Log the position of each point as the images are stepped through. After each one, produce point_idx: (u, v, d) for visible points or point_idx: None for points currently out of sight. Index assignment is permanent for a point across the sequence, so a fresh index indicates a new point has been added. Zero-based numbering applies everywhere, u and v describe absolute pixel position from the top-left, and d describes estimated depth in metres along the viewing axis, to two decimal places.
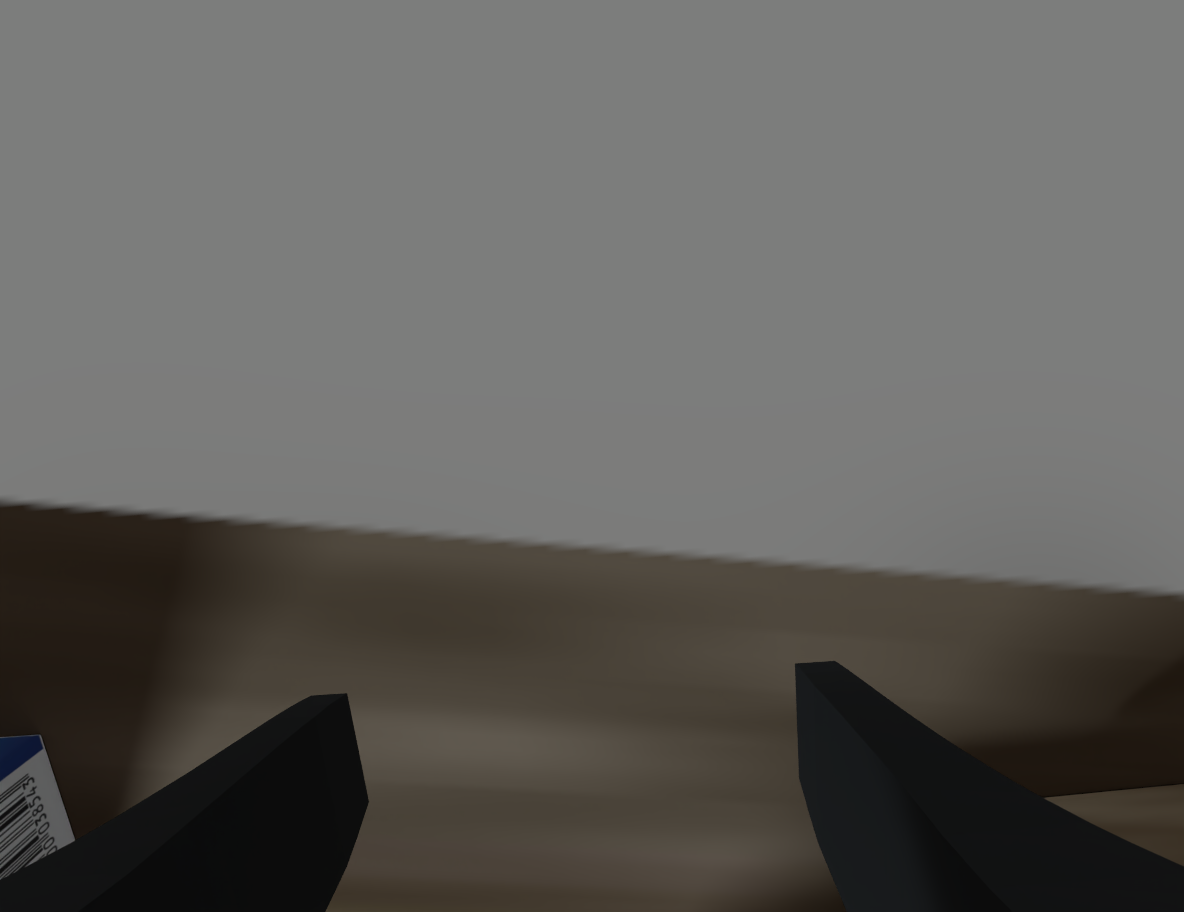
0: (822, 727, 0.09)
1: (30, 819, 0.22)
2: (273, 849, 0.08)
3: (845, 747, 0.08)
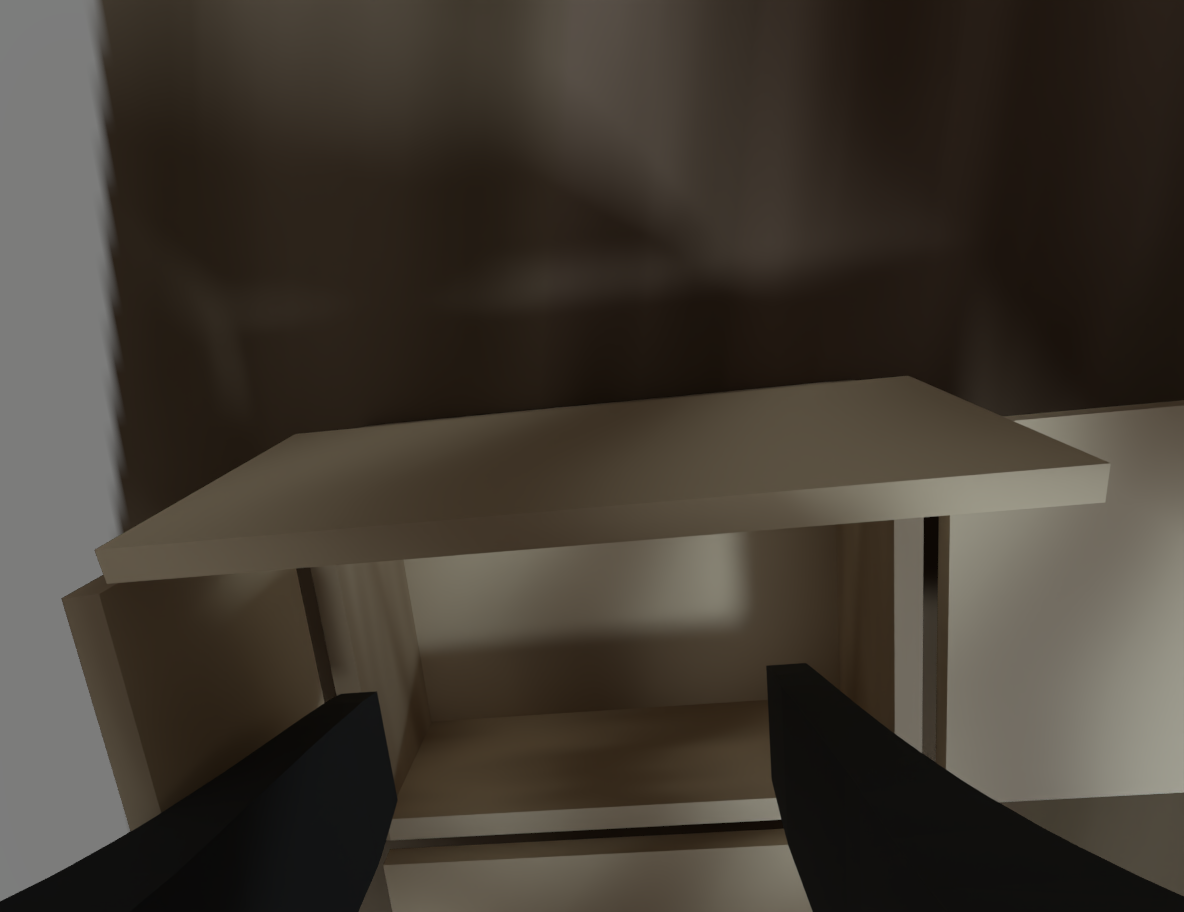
0: (789, 729, 0.09)
1: None
2: (310, 847, 0.08)
3: (809, 749, 0.08)
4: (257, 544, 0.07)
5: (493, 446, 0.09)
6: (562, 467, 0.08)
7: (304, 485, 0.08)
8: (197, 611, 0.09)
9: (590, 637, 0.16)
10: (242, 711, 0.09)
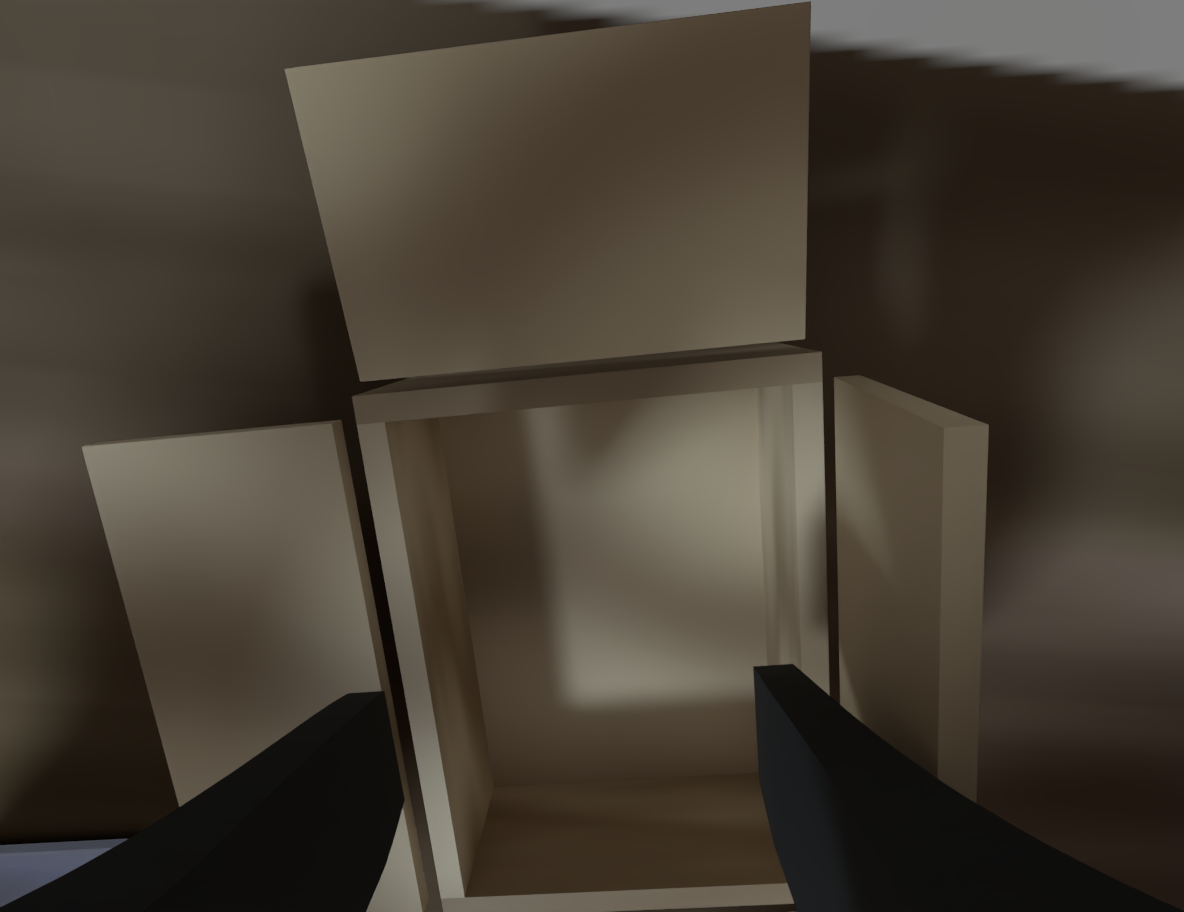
0: (774, 730, 0.09)
1: None
2: (319, 847, 0.08)
3: (792, 750, 0.08)
4: (972, 596, 0.07)
5: None
6: None
7: None
8: (741, 137, 0.09)
9: (544, 567, 0.15)
10: (617, 185, 0.10)
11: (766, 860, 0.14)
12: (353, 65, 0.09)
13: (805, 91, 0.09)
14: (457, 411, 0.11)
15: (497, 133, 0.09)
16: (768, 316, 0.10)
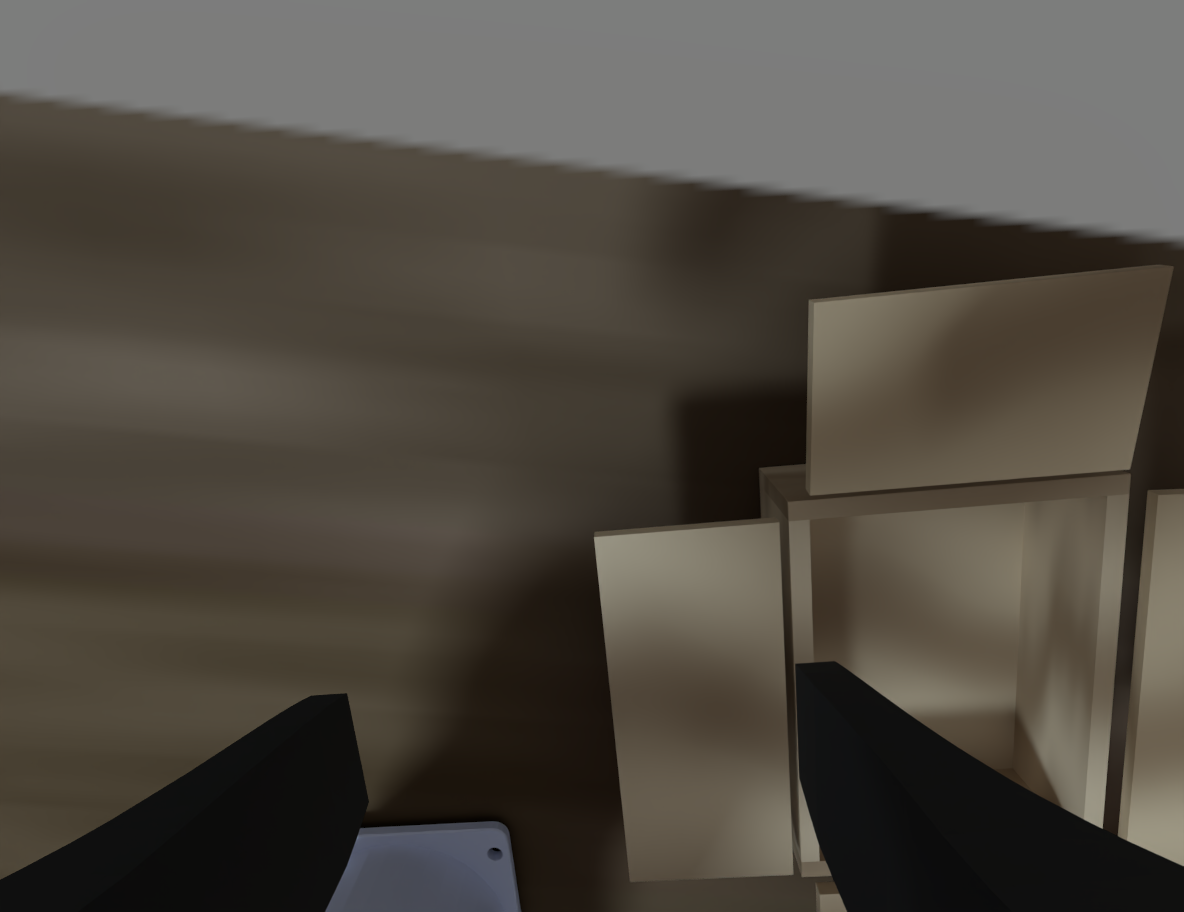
0: (822, 727, 0.09)
1: None
2: (274, 848, 0.08)
3: (845, 747, 0.08)
4: None
5: None
6: None
7: None
8: (1111, 345, 0.14)
9: (849, 611, 0.20)
10: (1021, 373, 0.14)
11: None
12: (862, 301, 0.14)
13: (1160, 318, 0.14)
14: (862, 512, 0.16)
15: (947, 341, 0.14)
16: (1107, 454, 0.15)
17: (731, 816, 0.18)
